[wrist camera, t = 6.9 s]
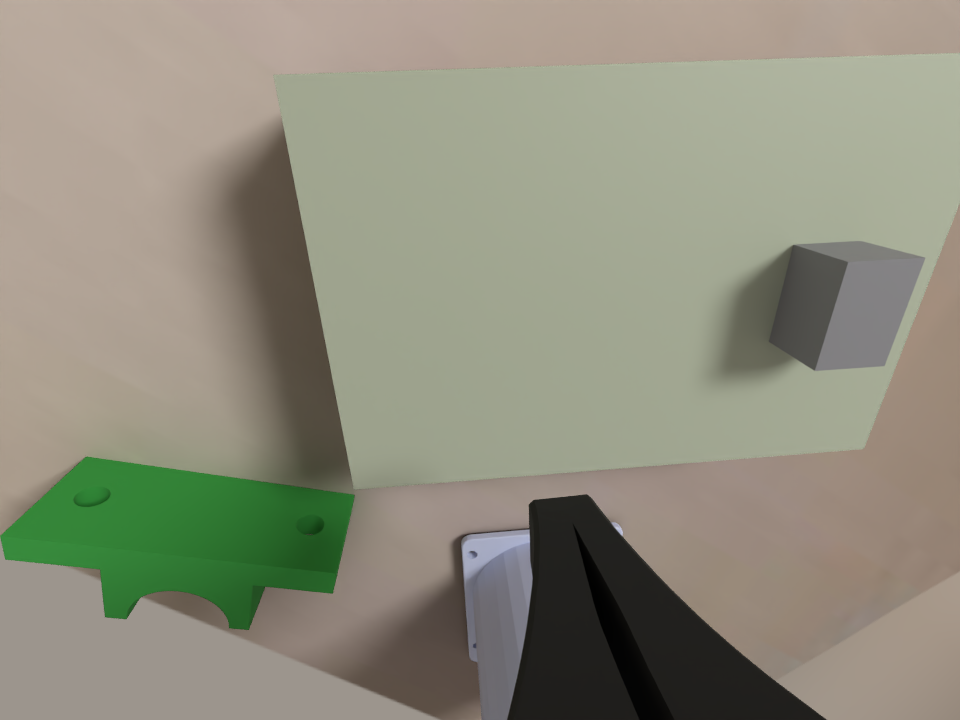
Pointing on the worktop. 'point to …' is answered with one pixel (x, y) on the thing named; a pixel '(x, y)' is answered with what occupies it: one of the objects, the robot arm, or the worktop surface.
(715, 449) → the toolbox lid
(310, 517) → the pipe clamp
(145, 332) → the worktop surface
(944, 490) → the worktop surface
